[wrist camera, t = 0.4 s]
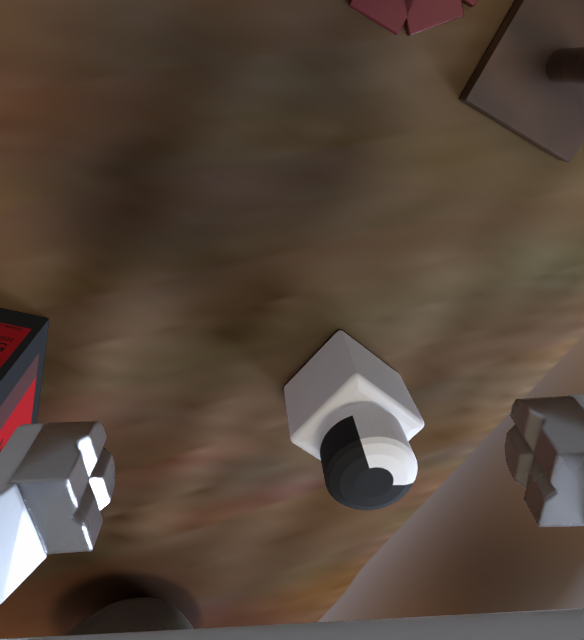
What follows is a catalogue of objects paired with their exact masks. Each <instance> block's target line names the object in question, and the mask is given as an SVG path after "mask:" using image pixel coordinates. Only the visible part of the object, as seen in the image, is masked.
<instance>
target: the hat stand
mask: <svg viewBox="0 0 584 640" xmlns="http://www.w3.org/2000/svg"><path fill="white" fill-rule="evenodd" d="M459 100H461V101H462V102H464V103H466V104H467V105H469V106H471V107H472V108H474V109H476V110H477V111H479V112H481V113H482V114H484V115H486V116H487V117H489V118H491V119H492V120H494V121H496V122H497V123H499V124H501V125H502V126H504V127H506V128H507V129H509V130H511V131H512V132H514V133H516V134H517V135H519V136H521V137H522V138H524V139H526V140H527V141H529V142H531V143H532V144H534V145H536V146H537V147H539V148H541V149H542V150H544V151H546V152H547V153H549V154H551V155H552V156H554V157H556V158H557V159H559V160H562V161H565V162H570V161H571V159H572V158H573V156H574V155H575V153H576V152H577V150H578V149H579V148H580V146H581V145H582V143H583V142H584V0H516V1H515V3H514V4H513V6H512V8H511V10H510V11H509V13H508V15H507V17H506V18H505V20H504V22H503V24H502V25H501V27H500V29H499V30H498V32H497V34H496V36H495V37H494V39H493V41H492V43H491V44H490V46H489V48H488V50H487V51H486V53H485V55H484V56H483V58H482V60H481V62H480V63H479V65H478V67H477V69H476V70H475V72H474V74H473V76H472V77H471V79H470V81H469V82H468V84H467V86H466V88H465V89H464V91H463V93H462V95H461V96H460V98H459Z"/></svg>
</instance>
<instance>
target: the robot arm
mask: <svg viewBox="0 0 584 640" xmlns="http://www.w3.org/2000/svg"><path fill="white" fill-rule="evenodd" d="M510 416H511V418H512V419H513V421H514V423H515V425H514V426H513V427H512V429H510V430H509V431H508V432H507V434H506V441H505V455H506V461H507V465H508V468H509V471H510V473H511V474H512V477H513V478H514V480H515V481H516V482H518V483H519V484H520V485H522V486H523V487H525V488H526V491H525V496H524V500H525V501H526V503H527V505H528V507H529V509H530V511H531V512H532V514H533V516H534V518H535V520H536V522H537V524H538V526H539V527H557V526H584V394H579V395H568V396H559V397H542V398H525V399H516V400H515V402H514V403H513V405H512V409H511V414H510ZM106 438H107V436H106V433H105V430H104V427H103V424H101V423H100V422H98V421H93V422H62V423H48V424H46V423H41V424H23V425H21V426H19V427H17V428H16V430H15V431H14V433H13V434H12V436H11V437H10V439H9V440H8V442H7V443H6V445H5V446H4V448H3V449H2V451H1V452H0V604H1V603H2V602H3V601H4V600H5V599H6V598H7V597H8V596H9V595H10V594H11V593H12V592H13V591H14V590H15V589H16V588H17V587H18V586H19V585H20V584H21V583H22V582H23V581H24V580H25V579H26V578H27V577H28V576H29V575H30V574H31V573H32V572H33V571H34V570H35V568H36V567H37V566H38V565H39V564H40V563H41V562H42V561H43V560H44V559H45V558H46V557H47V556H46V554H58V553H70V552H82V551H92V550H93V547H94V545H95V542H96V539H97V536H98V534H99V531H100V528H101V525H102V523H103V519H102V516H101V513H100V510H101V509H102V508H104V507H105V506H106V505H107V504H108V503H109V502H110V500H111V497H112V494H113V491H114V484H115V464H114V460H113V457H112V454H111V453H110V452H108V451H107V450H106V449H105V448H103V445H104V443H105V441H106ZM0 640H584V608H582V609H562V610H543V611H526V612H525V611H524V612H505V613H488V614H487V613H486V614H468V615H449V616H430V617H411V618H394V619H393V618H392V619H374V620H355V621H336V622H316V623H297V624H278V625H259V626H240V627H220V628H201V629H182V630H164V631H145V632H126V633H107V634H88V635H69V636H50V637H31V638H12V639H0Z"/></svg>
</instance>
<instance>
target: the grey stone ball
mask: <svg viewBox="0 0 584 640" xmlns="http://www.w3.org/2000/svg"><path fill="white" fill-rule="evenodd" d="M182 629H193V627H192V625H191V624H190V622H189V621H188V620H187V619H186V617H185V616H184V615H183V614H182V613H181V612H180V611H179V610H178V609H177V608H176V607H174V606H173V605H172V604H170V603H168V602H166V601H164V600H161V599H157V598H149V597H140V598H130V599H125V600H121V601H118V602H115V603H112V604H110V605H108V606H106V607H104V608H102V609H101V610H99V611H97V612H95V613H94V614H92V615H91V616H89V617H88V618H86V619H85V620H84V621H82V622H81V623H80V624H78V625H77V626H76V627H75V628H74V629H72V630H71V631H70V632H69V633H68V634H67V635H66V636H69V635H88V634H107V633H126V632H145V631H164V630H182Z"/></svg>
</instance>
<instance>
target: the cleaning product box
mask: <svg viewBox="0 0 584 640" xmlns="http://www.w3.org/2000/svg"><path fill="white" fill-rule="evenodd" d="M48 324H49V319H48V318H43V317H39V316H34V315H30V314H25V313H21V312H16V311H11V310H7V309H2V308H0V452H1V451H2V449H3V448H4V446H5V445H6V443H7V442H8V440H9V439H10V437H11V436H12V434H13V433H14V431H15V430H16V428H17V427H19V426H21V425H23V424H36V422H37V414H38V406H39V398H40V390H41V382H42V373H43V365H44V357H45V349H46V341H47V333H48Z"/></svg>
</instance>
